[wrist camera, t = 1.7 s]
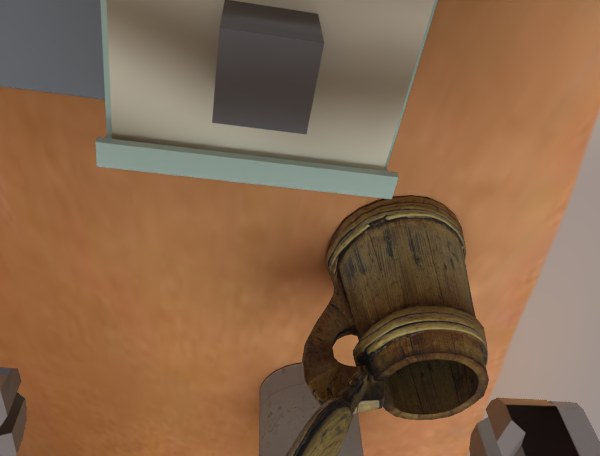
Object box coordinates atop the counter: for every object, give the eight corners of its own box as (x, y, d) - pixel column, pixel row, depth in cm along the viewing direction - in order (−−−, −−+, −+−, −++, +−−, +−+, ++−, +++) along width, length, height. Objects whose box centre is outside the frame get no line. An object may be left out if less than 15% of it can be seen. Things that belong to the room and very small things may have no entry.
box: (127, -170, 24) (77, -150, 17) (427, -113, 25) (480, -76, 19) (131, 85, 31) (97, 166, 24) (367, 116, 32) (391, 199, 26)
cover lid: (109, -129, 19) (76, -109, 16) (444, -68, 21) (478, -39, 18) (117, 130, 26) (96, 183, 22) (378, 161, 27) (393, 215, 24)
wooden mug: (258, 198, 36) (253, 477, 22) (473, 193, 36) (605, 462, 22) (263, 299, 41) (262, 573, 27) (450, 293, 42) (543, 560, 28)
